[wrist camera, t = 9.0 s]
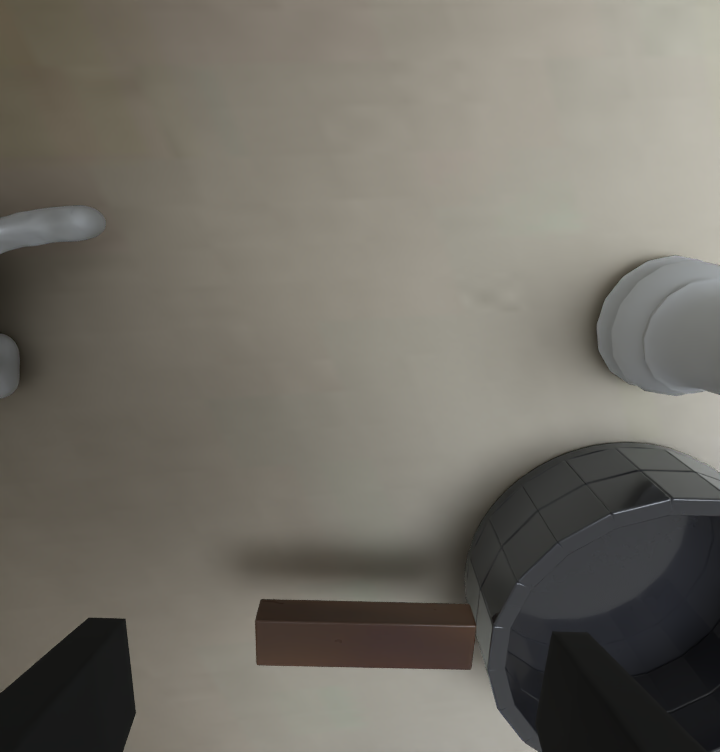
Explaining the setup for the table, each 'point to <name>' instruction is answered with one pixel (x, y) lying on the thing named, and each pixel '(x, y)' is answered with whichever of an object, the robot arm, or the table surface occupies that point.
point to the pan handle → (364, 634)
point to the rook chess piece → (664, 327)
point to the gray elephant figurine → (32, 231)
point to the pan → (604, 578)
